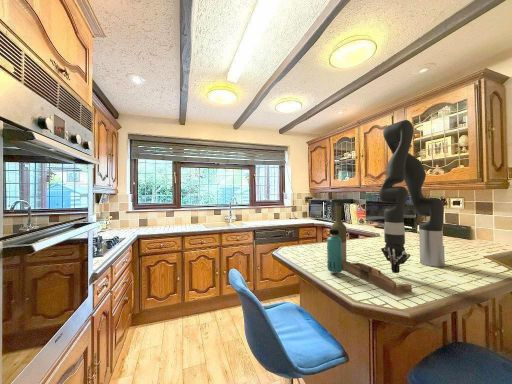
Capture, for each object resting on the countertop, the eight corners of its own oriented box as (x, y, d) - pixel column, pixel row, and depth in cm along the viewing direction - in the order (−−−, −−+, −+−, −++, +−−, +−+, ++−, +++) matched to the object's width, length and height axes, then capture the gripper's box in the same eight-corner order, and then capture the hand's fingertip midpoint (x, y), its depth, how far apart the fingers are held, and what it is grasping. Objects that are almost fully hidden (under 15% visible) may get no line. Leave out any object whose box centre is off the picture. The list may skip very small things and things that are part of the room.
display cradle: (357, 267, 105) (357, 255, 106) (412, 292, 78) (411, 275, 78) (342, 269, 103) (342, 256, 103) (393, 294, 76) (392, 277, 76)
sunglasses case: (398, 283, 86) (389, 269, 85) (384, 293, 85) (375, 279, 85) (370, 268, 104) (362, 256, 103) (358, 276, 103) (351, 265, 103)
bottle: (349, 266, 107) (348, 205, 107) (341, 269, 103) (340, 206, 103) (337, 263, 112) (336, 205, 113) (328, 266, 108) (327, 206, 109)
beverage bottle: (342, 271, 100) (341, 228, 100) (343, 277, 94) (342, 230, 94) (327, 270, 102) (326, 227, 102) (327, 275, 96) (326, 230, 96)
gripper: (415, 234, 89) (417, 277, 88) (388, 229, 101) (389, 266, 101) (400, 235, 87) (402, 279, 86) (375, 230, 100) (376, 268, 99)
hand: (395, 272), depth 94 cm, fingers closed
